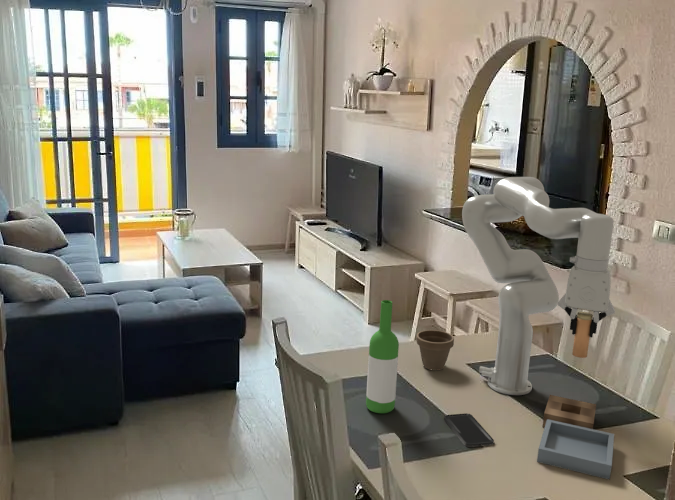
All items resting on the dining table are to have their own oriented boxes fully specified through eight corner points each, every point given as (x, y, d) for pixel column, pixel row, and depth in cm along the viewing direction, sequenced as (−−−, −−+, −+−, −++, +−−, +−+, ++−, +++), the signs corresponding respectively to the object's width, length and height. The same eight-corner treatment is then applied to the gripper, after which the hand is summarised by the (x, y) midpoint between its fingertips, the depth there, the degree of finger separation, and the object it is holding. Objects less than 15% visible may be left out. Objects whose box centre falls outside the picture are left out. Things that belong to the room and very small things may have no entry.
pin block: (542, 427, 178) (544, 413, 177) (548, 408, 189) (549, 394, 188) (591, 438, 173) (593, 423, 172) (594, 418, 184) (596, 404, 183)
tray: (536, 461, 161) (538, 448, 161) (545, 431, 176) (547, 419, 175) (609, 479, 155) (611, 465, 155) (612, 446, 170) (614, 433, 169)
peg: (571, 356, 174) (577, 314, 171) (572, 351, 177) (578, 310, 175) (586, 358, 173) (592, 317, 170) (587, 353, 176) (593, 313, 173)
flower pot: (406, 363, 214) (408, 333, 212) (432, 356, 221) (435, 326, 218) (432, 377, 205) (435, 345, 203) (459, 369, 212) (462, 338, 209)
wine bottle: (373, 398, 189) (379, 295, 182) (399, 406, 186) (406, 300, 179) (360, 410, 183) (366, 302, 175) (387, 417, 179) (394, 308, 172)
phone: (470, 413, 182) (495, 441, 168) (469, 417, 183) (495, 445, 168) (442, 415, 180) (465, 444, 166) (441, 419, 181) (465, 448, 167)
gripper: (555, 262, 169) (546, 333, 173) (627, 272, 163) (617, 345, 167) (558, 256, 176) (550, 324, 180) (627, 265, 170) (617, 335, 174)
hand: (582, 333), depth 174 cm, fingers closed on peg, 3 cm apart
